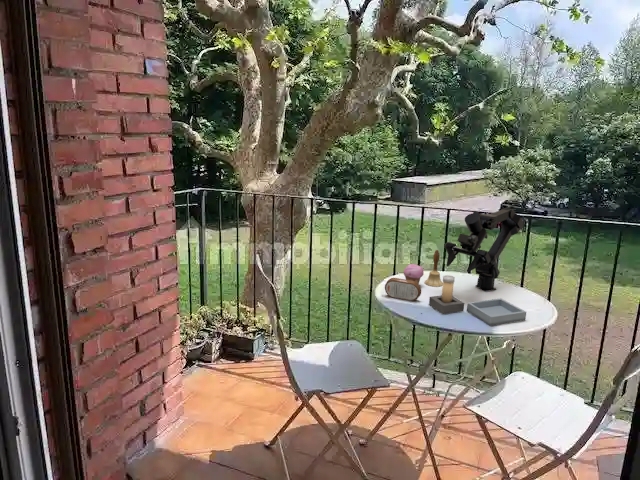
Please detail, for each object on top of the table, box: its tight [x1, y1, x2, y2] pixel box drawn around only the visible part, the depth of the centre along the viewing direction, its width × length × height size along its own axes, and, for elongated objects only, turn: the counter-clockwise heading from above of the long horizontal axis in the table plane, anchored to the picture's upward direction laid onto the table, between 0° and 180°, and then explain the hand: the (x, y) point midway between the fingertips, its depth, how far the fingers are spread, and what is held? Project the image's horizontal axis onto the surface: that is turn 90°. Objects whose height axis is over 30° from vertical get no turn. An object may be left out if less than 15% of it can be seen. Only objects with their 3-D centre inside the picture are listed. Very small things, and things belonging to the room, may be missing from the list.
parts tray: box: [466, 298, 527, 327], centre depth 178 cm, size 16×14×4 cm
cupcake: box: [403, 263, 425, 285], centre depth 207 cm, size 9×9×10 cm
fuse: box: [441, 274, 455, 303], centre depth 183 cm, size 4×4×13 cm
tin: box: [384, 277, 422, 302], centre depth 193 cm, size 15×3×8 cm, turn 65°
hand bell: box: [424, 249, 443, 288], centre depth 210 cm, size 8×8×16 cm
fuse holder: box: [428, 294, 465, 315], centre depth 184 cm, size 10×10×4 cm
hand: (457, 268), depth 187 cm, fingers open, 9 cm apart
